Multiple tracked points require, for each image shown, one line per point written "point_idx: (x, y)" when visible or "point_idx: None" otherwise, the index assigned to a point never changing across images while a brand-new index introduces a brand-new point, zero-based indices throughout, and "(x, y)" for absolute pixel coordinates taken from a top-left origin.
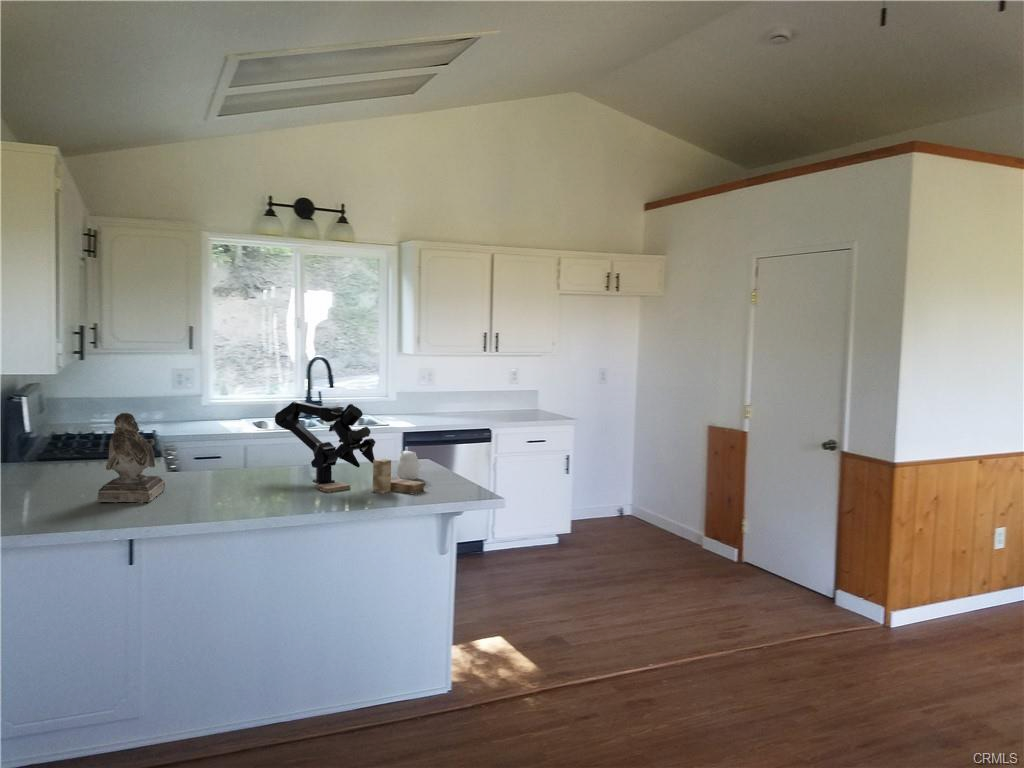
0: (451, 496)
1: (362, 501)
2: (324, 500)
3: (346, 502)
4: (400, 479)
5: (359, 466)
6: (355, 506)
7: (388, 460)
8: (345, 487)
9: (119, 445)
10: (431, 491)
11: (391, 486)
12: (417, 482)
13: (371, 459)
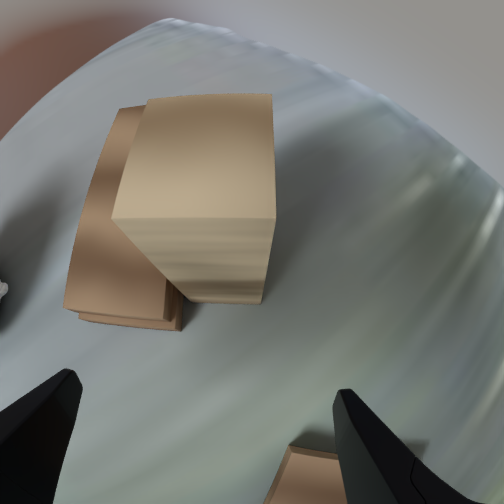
0: (174, 58)
1: (430, 217)
2: (498, 347)
3: (473, 258)
4: (91, 219)
5: (342, 391)
6: (474, 198)
7: (182, 99)
8: (320, 454)
9: None
10: None
11: None
12: (127, 125)
13: (58, 417)
